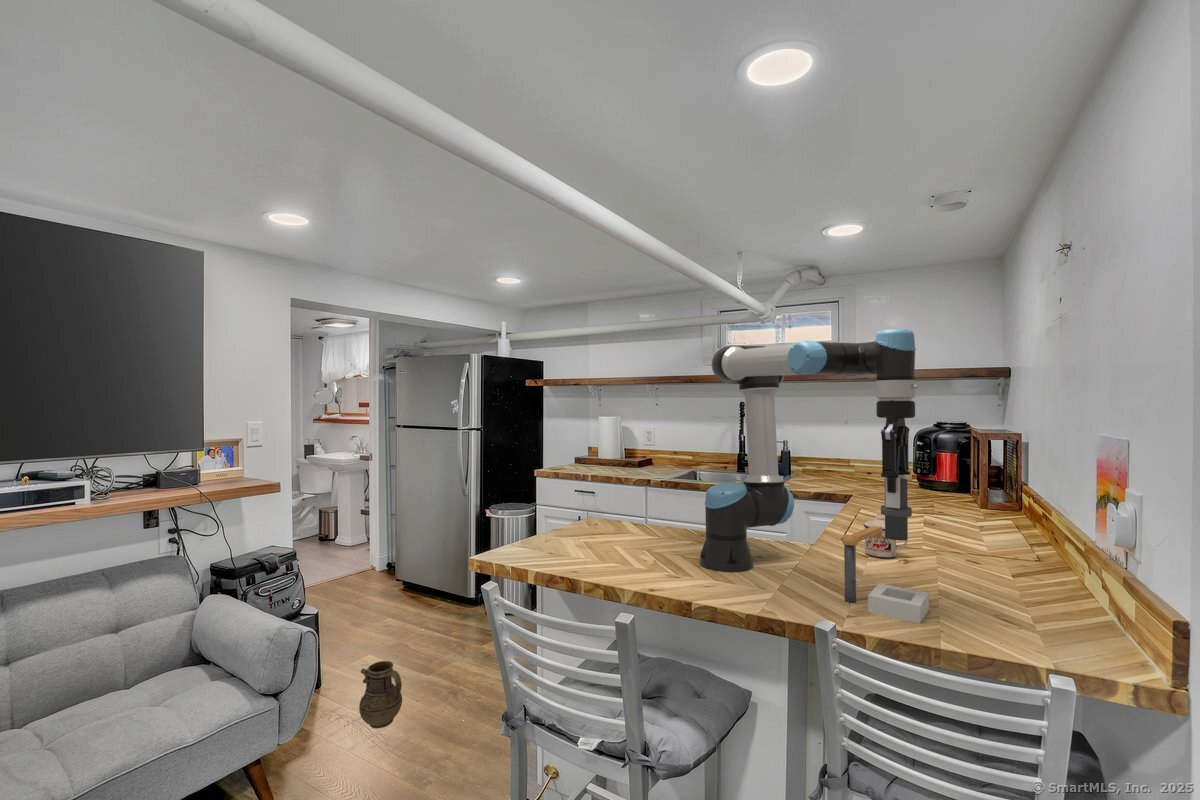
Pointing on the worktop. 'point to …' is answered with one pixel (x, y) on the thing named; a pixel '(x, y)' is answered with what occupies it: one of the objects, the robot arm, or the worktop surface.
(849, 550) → the clip post
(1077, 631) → the worktop surface
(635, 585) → the worktop surface
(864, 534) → the clip
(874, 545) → the teacup with lid
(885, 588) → the socket block
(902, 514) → the plug
